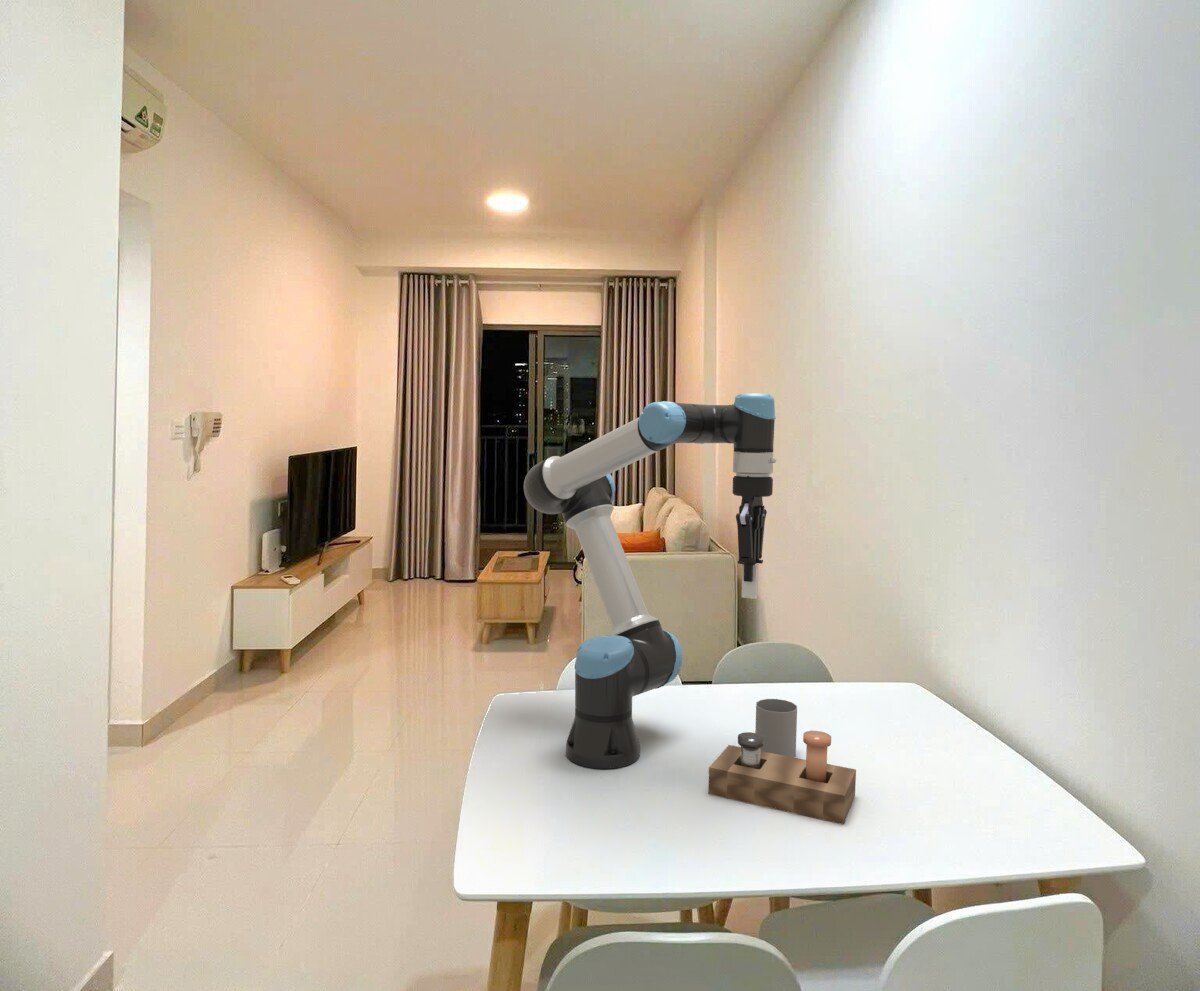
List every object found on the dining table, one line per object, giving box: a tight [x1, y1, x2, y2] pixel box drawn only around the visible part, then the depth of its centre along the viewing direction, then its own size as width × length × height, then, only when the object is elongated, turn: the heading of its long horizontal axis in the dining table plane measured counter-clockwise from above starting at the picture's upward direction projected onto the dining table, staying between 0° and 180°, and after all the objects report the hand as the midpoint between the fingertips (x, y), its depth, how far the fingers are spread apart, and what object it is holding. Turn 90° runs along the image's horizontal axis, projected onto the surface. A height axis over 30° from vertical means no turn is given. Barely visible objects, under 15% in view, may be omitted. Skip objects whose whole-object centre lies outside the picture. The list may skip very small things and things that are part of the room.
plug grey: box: [737, 731, 764, 770], centre depth 146 cm, size 5×5×9 cm
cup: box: [754, 698, 798, 758], centre depth 163 cm, size 8×8×10 cm
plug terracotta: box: [802, 730, 832, 783], centre depth 140 cm, size 5×5×9 cm
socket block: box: [707, 744, 857, 825], centre depth 143 cm, size 24×12×5 cm, turn 63°
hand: (749, 597), depth 151 cm, fingers closed
